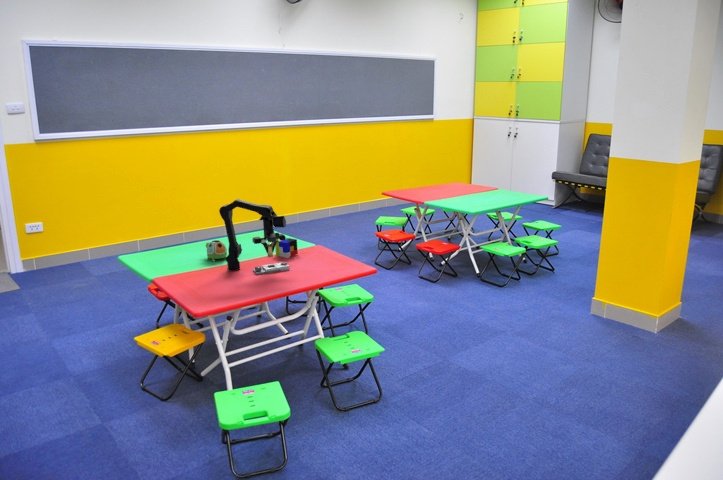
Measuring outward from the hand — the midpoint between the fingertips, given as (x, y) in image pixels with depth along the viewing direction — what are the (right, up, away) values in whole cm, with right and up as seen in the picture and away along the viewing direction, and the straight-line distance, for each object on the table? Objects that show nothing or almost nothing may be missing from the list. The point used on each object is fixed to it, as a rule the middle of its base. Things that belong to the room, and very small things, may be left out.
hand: (270, 252), depth 340 cm
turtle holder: (-40, -5, +30) cm, 50 cm away
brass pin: (0, -2, +1) cm, 2 cm away
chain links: (0, -11, +3) cm, 11 cm away
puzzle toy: (+6, -2, +34) cm, 34 cm away
